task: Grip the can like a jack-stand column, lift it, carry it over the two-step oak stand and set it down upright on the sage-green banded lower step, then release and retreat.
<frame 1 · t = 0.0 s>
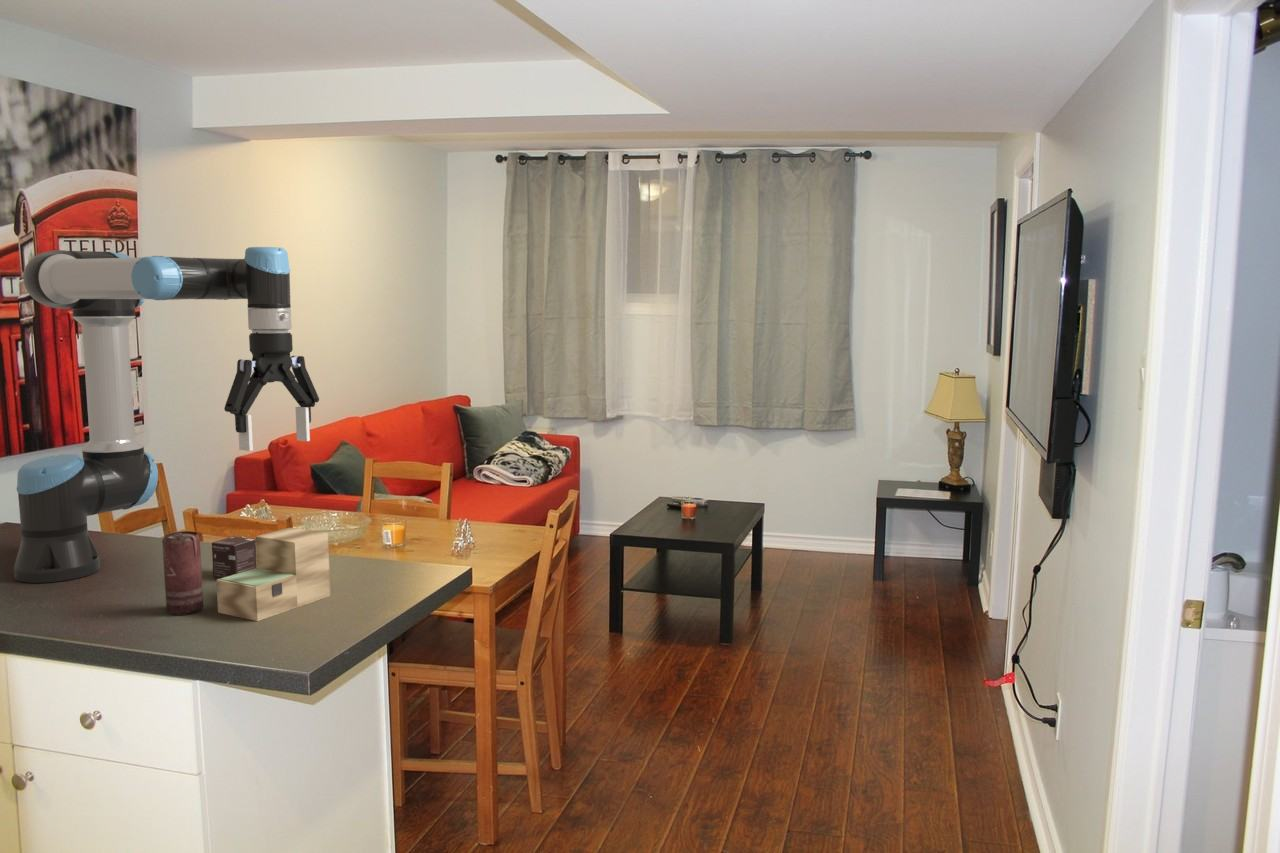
hand: (275, 445, 193), 28 cm above the table, fingers open, 13 cm apart
can: (186, 611, 184), on the table
stand: (277, 603, 189), on the table
box: (235, 577, 207), on the table
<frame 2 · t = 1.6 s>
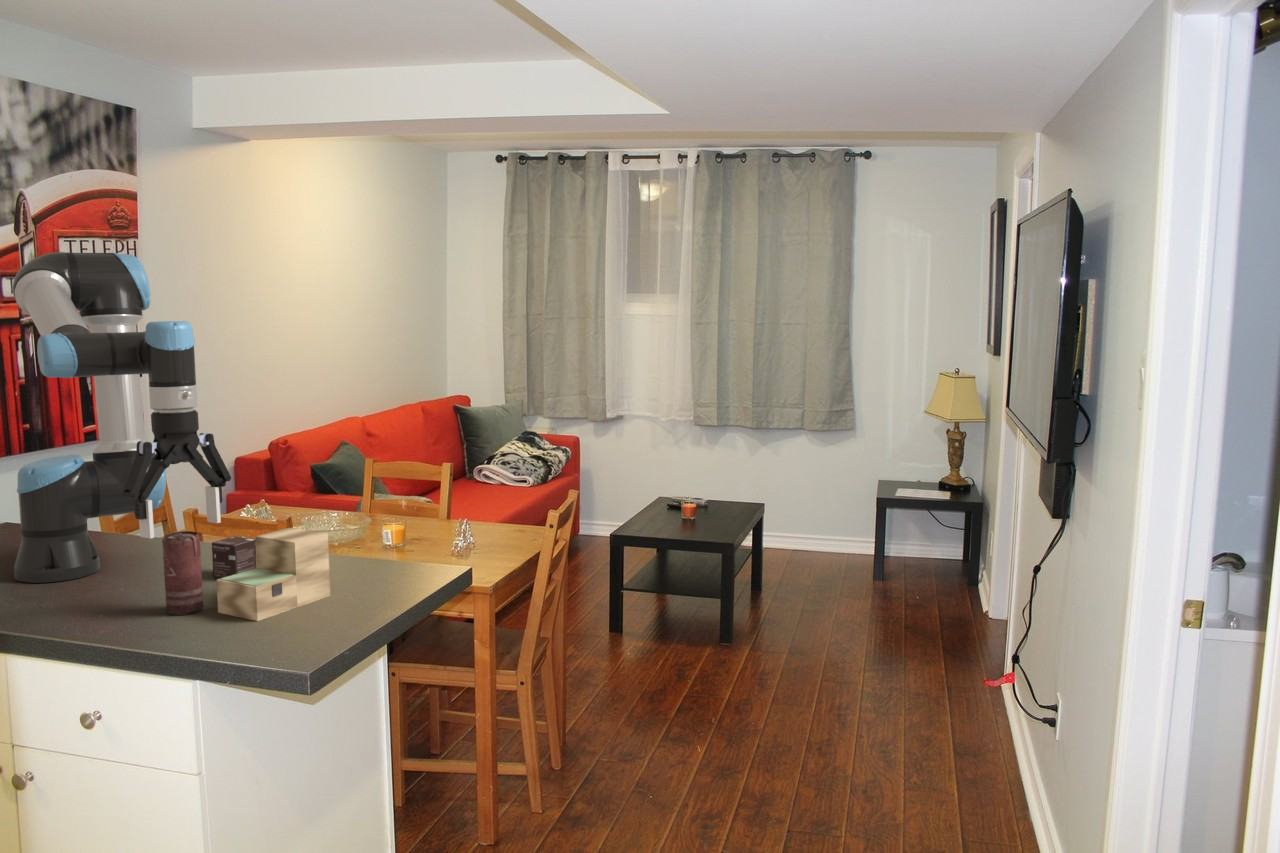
hand: (181, 529, 182), 15 cm above the table, fingers open, 13 cm apart
nothing on the table moved.
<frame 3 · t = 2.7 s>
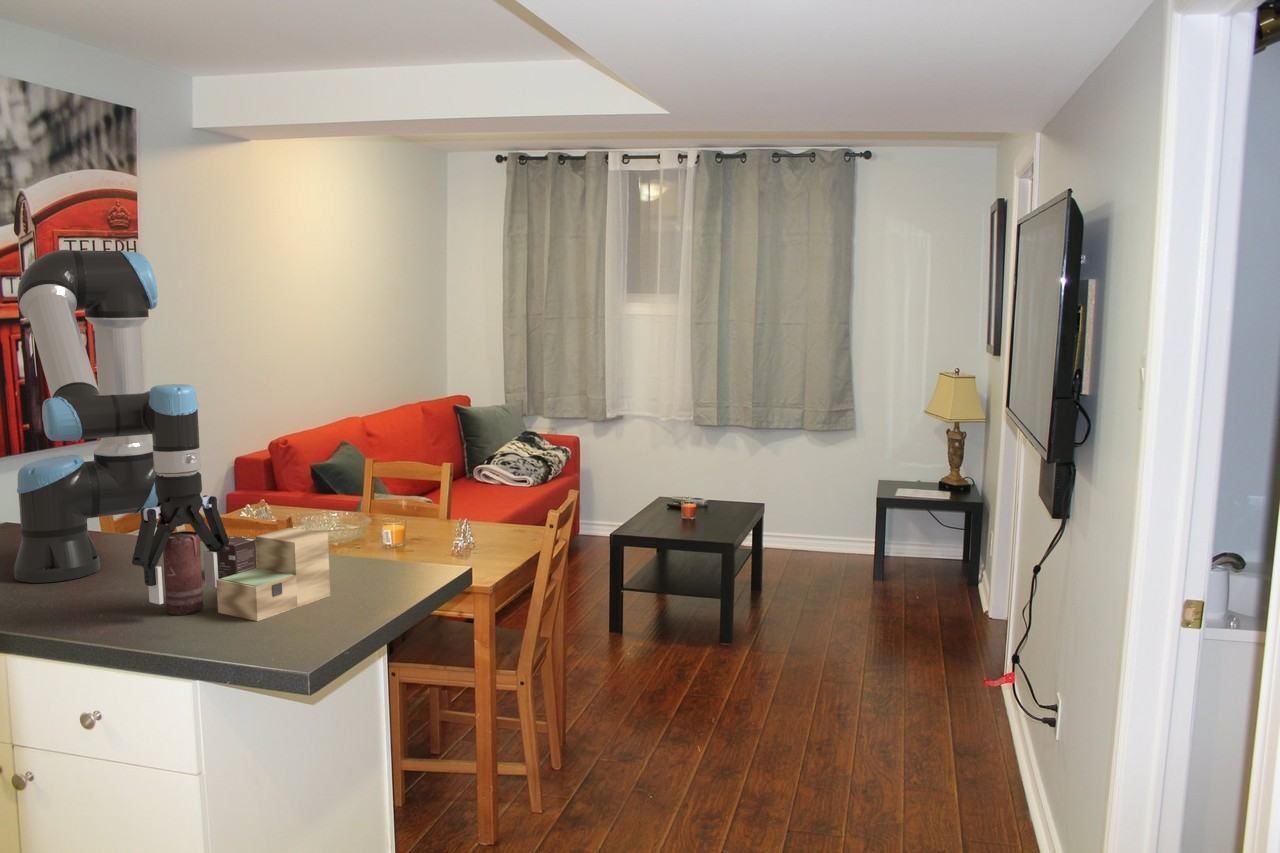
hand: (185, 594, 184), 3 cm above the table, fingers open, 11 cm apart
nothing on the table moved.
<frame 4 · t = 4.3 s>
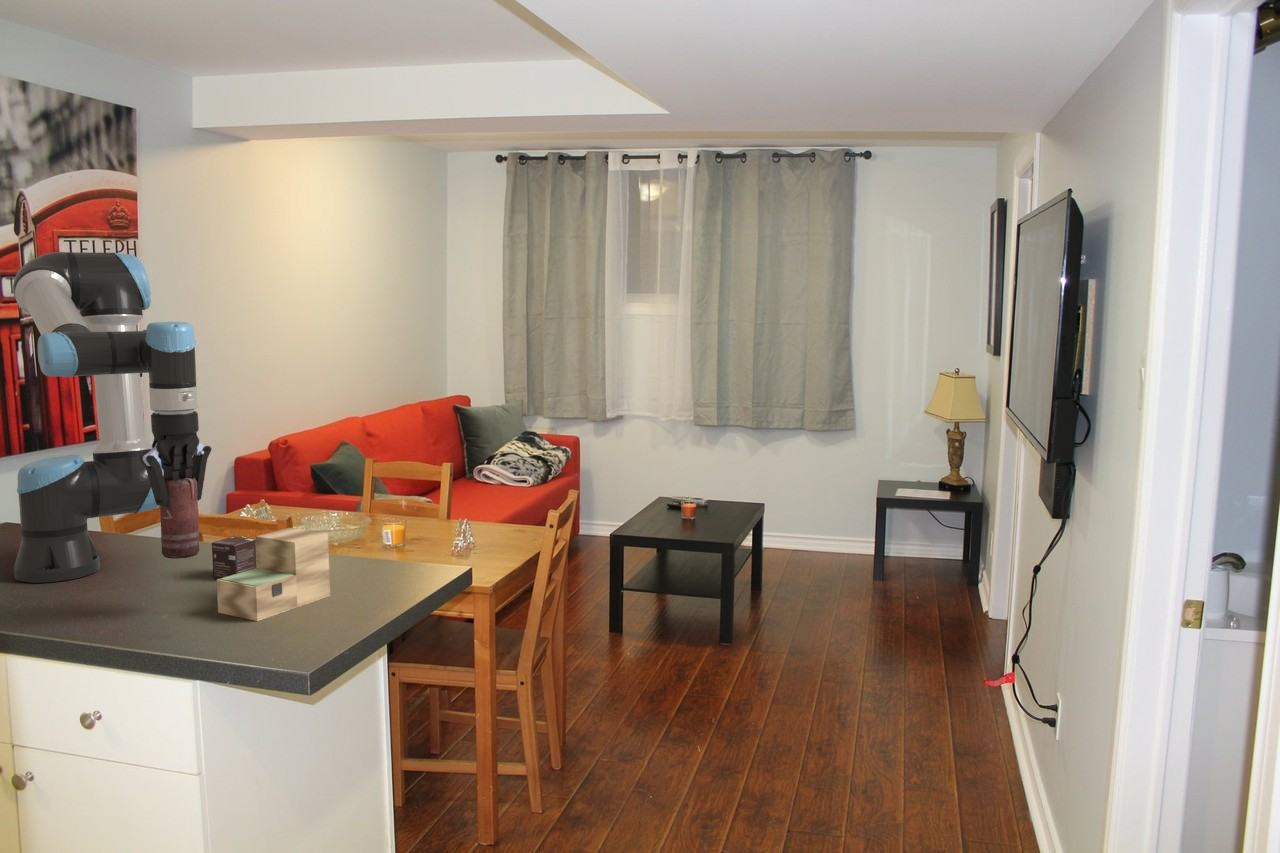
hand: (181, 542, 183), 12 cm above the table, fingers closed
can: (181, 555, 183), point 10 cm above the table, touching hand
everything else where it was.
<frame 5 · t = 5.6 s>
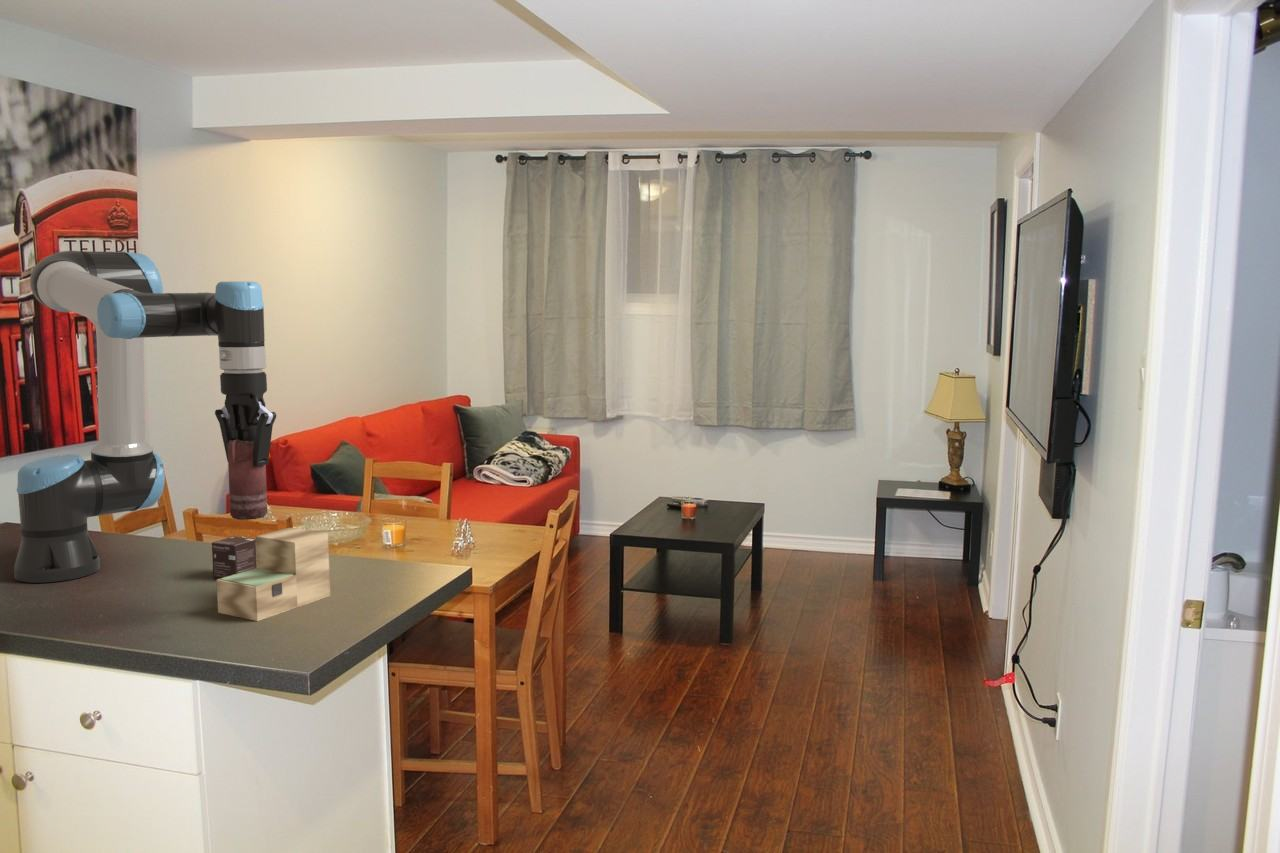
hand: (249, 504, 182), 19 cm above the table, fingers closed
can: (248, 517, 182), point 17 cm above the table, touching hand
everything else where it was.
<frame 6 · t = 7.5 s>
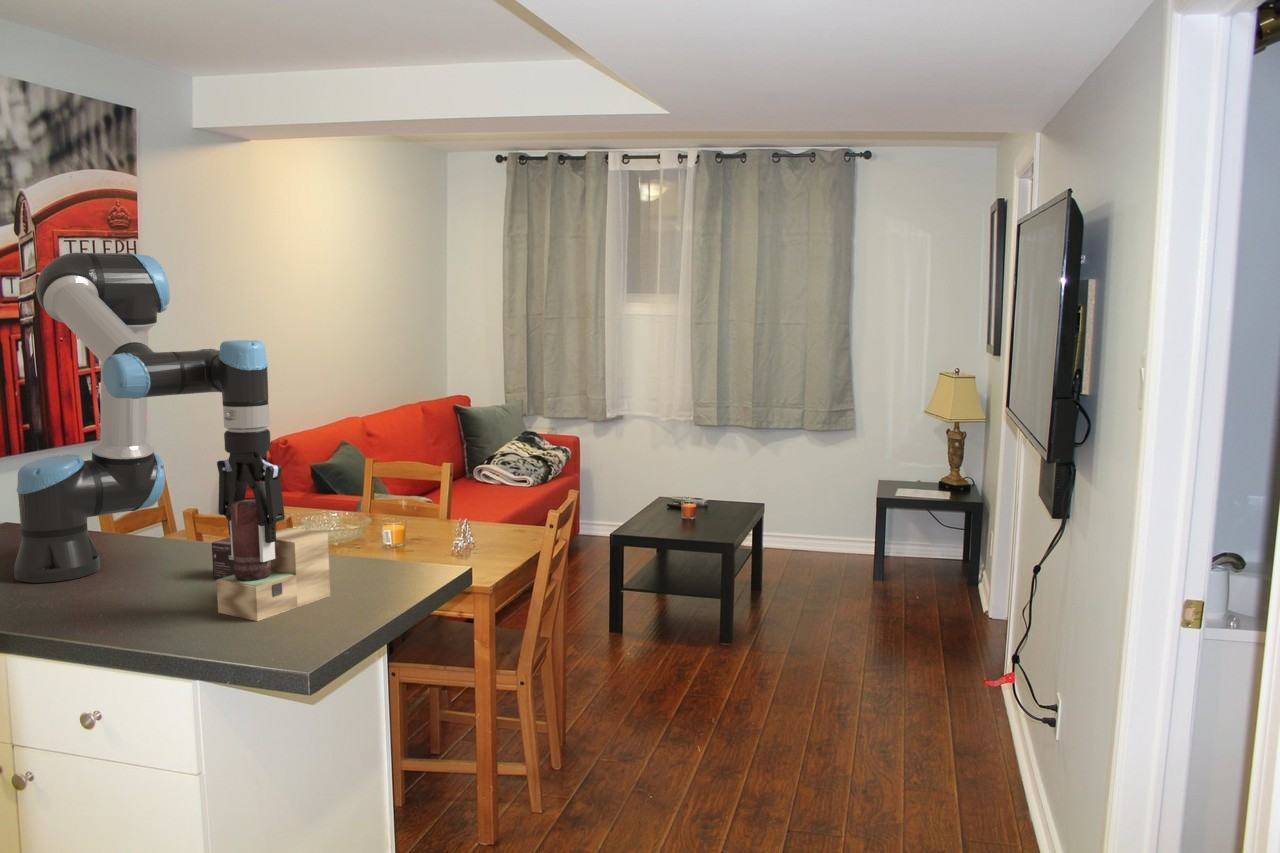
hand: (253, 557, 183), 10 cm above the table, fingers open, 7 cm apart
can: (252, 578, 184), point 6 cm above the table, touching stand
everything else where it was.
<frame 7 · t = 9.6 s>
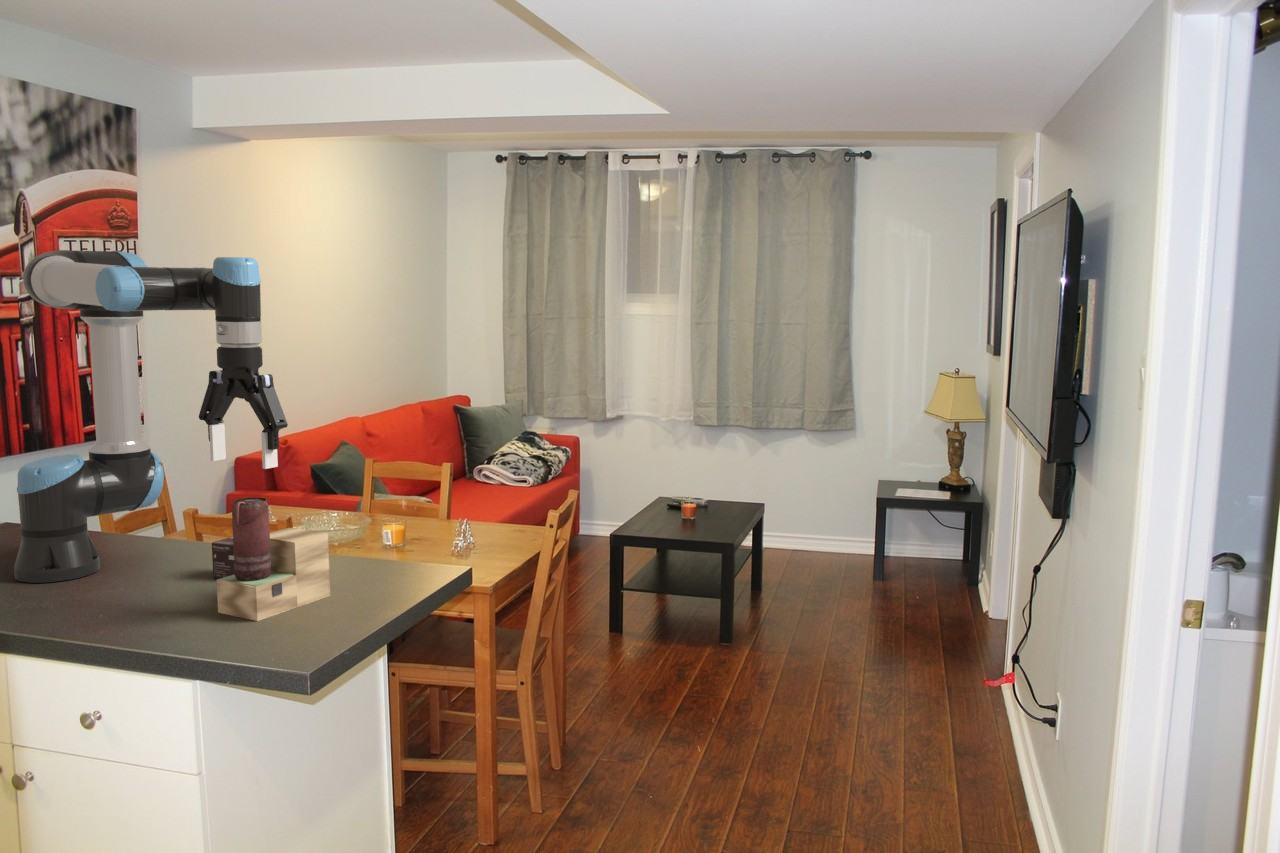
hand: (243, 463, 185), 26 cm above the table, fingers open, 13 cm apart
nothing on the table moved.
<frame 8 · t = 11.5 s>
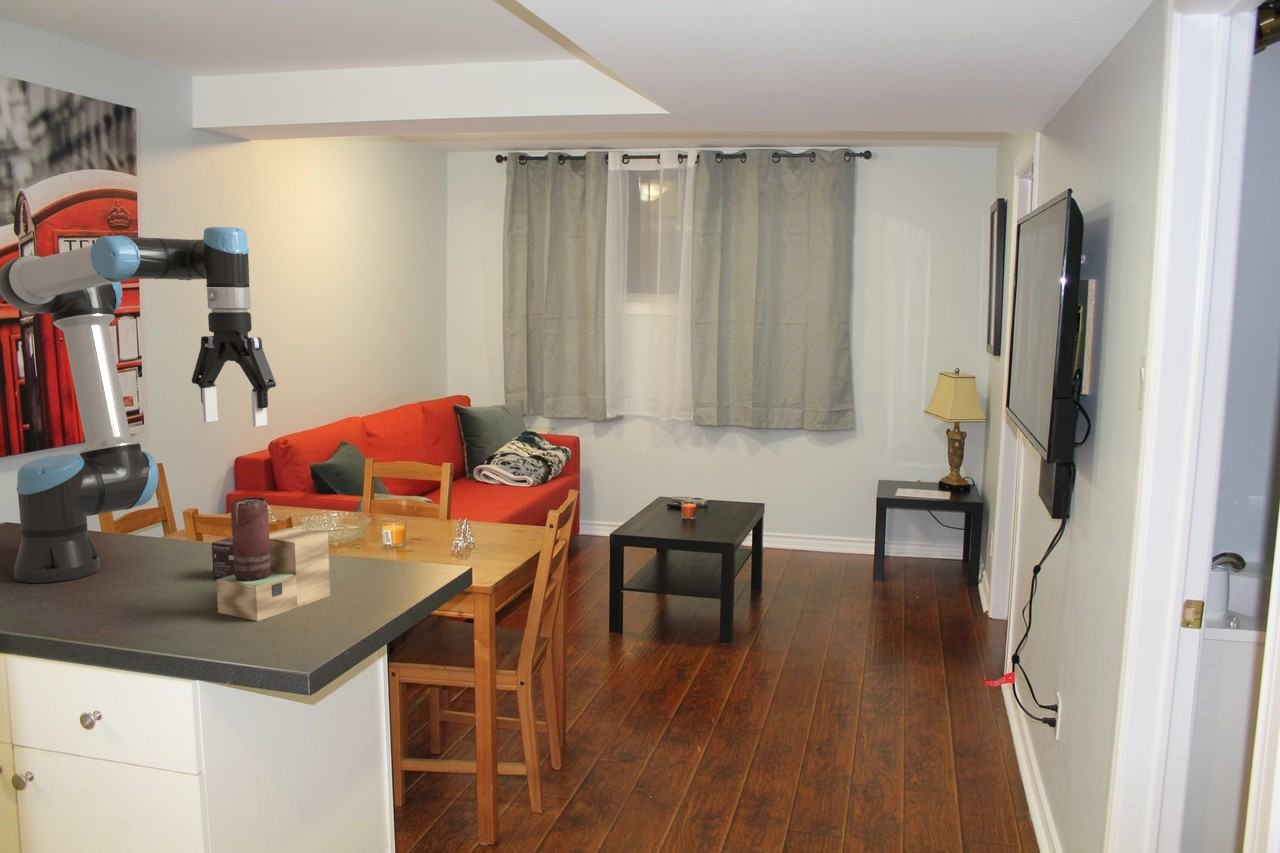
hand: (235, 423, 196), 32 cm above the table, fingers open, 13 cm apart
nothing on the table moved.
at the end: can inside the target area on the stand (0.7 cm from its centre), point 6.0 cm above the stand's base; can touching stand; can tilted 0° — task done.
